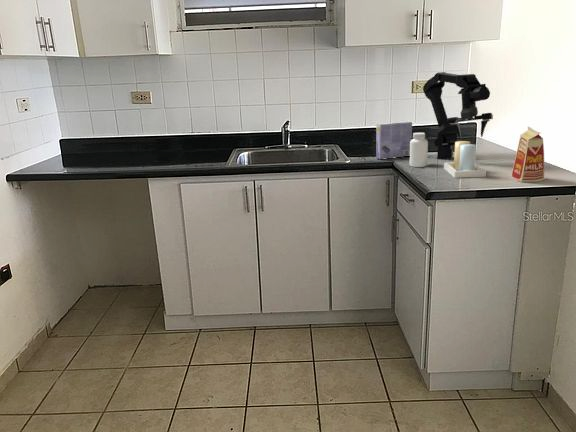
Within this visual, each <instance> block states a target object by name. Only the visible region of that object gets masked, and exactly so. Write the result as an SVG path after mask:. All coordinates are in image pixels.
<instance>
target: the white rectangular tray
mask: <svg viewBox="0 0 576 432" xmlns="http://www.w3.org/2000/svg"><path fill="white" fill-rule="evenodd" d="M443 169H444V170H445V171H446V172H447V173H449V175H450V176H452V177H453V178H454V179H459V178H460V179H463V178H486V177H487V170H486V169H485V168H483V167H481V166H480V165H479V164H477V163H475V170H472V171H459V169H454V161H452V162H450V161H449V162H443Z"/></svg>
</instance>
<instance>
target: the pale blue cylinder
mask: <svg viewBox="0 0 576 432" xmlns="http://www.w3.org/2000/svg"><path fill="white" fill-rule="evenodd" d="M476 153H477V144H473V143H470V144H462V145H460V163H459V171H472V170H475V164H476V155H477V154H476Z"/></svg>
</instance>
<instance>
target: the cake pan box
mask: <svg viewBox="0 0 576 432" xmlns="http://www.w3.org/2000/svg"><path fill="white" fill-rule="evenodd" d="M375 126H376V127H375V128H376V130H375V131H376V134H375V135H376V142H375V143H376V147H375V149H376V151H375V152H376V153H375V154H376V159H377V158H380V159H382V160H384V159H383V158H393V157H402V158H404V157H403V156H410V141H411V140H412V138H413V122H412V121H405V122H390V123H389V122H388V123H378V124H376V125H375ZM380 159H379V160H380ZM393 159H394V158H393Z"/></svg>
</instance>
